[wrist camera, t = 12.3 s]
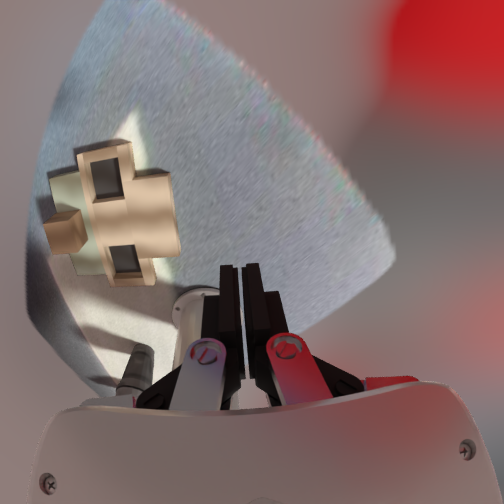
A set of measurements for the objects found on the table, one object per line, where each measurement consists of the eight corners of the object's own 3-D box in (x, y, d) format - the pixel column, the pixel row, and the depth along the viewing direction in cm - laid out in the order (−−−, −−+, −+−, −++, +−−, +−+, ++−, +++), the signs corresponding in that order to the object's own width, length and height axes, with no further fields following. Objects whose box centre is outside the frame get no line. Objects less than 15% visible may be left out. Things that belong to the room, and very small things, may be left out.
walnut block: (88, 239, 37) (77, 252, 34) (64, 241, 37) (52, 254, 33) (80, 209, 35) (68, 220, 31) (56, 213, 34) (42, 224, 31)
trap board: (185, 276, 44) (184, 284, 42) (86, 280, 43) (82, 287, 41) (166, 136, 33) (163, 138, 31) (52, 160, 32) (45, 163, 30)
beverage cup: (140, 334, 50) (119, 422, 33) (167, 353, 53) (155, 439, 36) (121, 348, 52) (100, 428, 35) (147, 365, 55) (133, 444, 38)
